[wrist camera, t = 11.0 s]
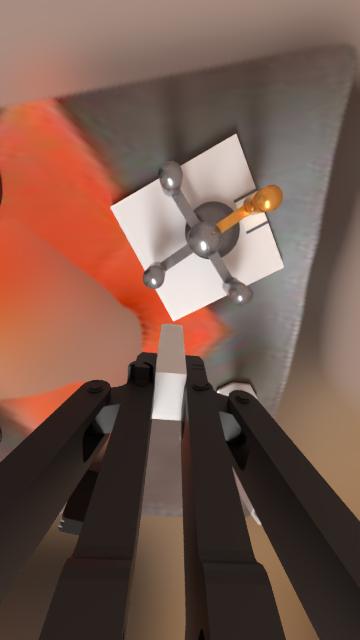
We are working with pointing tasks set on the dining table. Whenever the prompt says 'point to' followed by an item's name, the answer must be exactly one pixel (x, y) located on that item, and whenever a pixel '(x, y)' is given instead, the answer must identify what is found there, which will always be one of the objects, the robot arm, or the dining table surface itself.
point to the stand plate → (169, 225)
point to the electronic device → (78, 504)
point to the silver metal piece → (210, 231)
